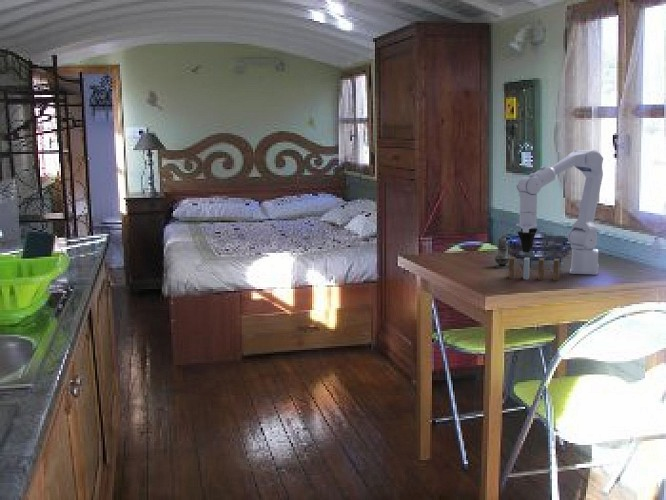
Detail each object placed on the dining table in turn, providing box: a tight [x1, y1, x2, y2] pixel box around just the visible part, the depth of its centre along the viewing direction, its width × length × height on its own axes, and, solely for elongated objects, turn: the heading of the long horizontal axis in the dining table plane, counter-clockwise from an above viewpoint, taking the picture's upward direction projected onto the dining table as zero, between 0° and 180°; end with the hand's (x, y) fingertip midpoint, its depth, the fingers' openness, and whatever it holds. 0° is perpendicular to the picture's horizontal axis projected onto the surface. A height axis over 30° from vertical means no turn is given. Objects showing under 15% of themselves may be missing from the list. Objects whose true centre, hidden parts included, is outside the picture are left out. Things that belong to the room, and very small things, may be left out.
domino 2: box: [522, 257, 531, 280], centre depth 271 cm, size 2×4×7 cm, turn 160°
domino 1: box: [508, 256, 516, 280], centre depth 272 cm, size 2×4×7 cm, turn 161°
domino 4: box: [552, 258, 560, 282], centre depth 267 cm, size 2×4×7 cm, turn 161°
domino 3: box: [537, 257, 545, 281], centre depth 269 cm, size 2×4×7 cm, turn 161°
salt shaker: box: [493, 235, 511, 269], centre depth 292 cm, size 6×6×12 cm
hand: (527, 250), depth 270 cm, fingers open, 7 cm apart
